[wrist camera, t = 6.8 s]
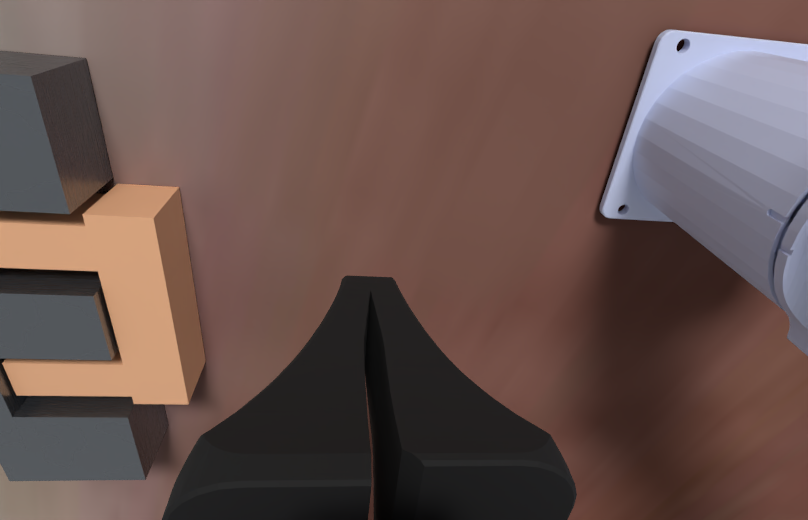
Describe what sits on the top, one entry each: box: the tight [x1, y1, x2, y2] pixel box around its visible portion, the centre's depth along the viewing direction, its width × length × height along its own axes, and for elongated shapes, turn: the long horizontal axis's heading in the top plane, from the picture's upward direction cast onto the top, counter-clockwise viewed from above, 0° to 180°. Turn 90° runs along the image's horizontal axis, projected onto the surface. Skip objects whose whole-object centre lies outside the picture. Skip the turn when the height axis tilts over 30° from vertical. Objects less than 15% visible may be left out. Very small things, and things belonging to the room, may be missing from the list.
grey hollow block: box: [0, 51, 168, 481], centre depth 21 cm, size 6×20×4 cm, turn 174°
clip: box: [0, 184, 206, 404], centre depth 21 cm, size 8×10×3 cm
